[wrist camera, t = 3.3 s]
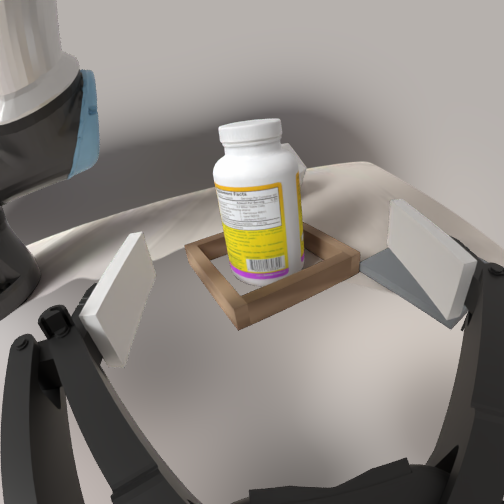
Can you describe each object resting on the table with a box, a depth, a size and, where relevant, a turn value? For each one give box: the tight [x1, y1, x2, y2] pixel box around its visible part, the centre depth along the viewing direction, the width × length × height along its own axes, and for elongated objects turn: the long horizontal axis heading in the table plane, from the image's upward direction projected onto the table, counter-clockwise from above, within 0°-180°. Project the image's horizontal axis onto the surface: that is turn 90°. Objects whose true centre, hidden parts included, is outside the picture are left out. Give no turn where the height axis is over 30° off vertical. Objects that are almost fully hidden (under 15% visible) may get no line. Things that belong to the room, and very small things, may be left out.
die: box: [281, 143, 307, 187], centre depth 41 cm, size 8×9×10 cm
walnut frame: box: [184, 222, 360, 331], centre depth 27 cm, size 12×12×2 cm
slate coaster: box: [359, 248, 488, 329], centre depth 23 cm, size 10×10×1 cm
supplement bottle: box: [213, 119, 304, 286], centre depth 24 cm, size 7×7×13 cm
